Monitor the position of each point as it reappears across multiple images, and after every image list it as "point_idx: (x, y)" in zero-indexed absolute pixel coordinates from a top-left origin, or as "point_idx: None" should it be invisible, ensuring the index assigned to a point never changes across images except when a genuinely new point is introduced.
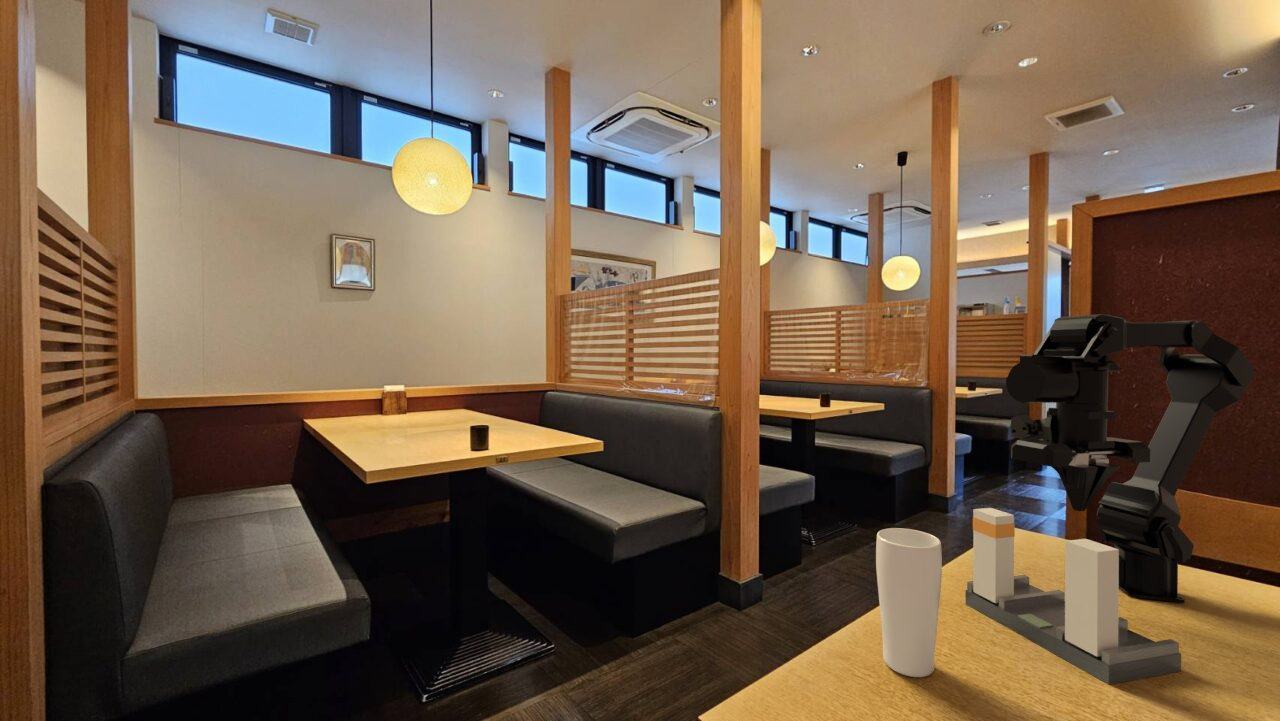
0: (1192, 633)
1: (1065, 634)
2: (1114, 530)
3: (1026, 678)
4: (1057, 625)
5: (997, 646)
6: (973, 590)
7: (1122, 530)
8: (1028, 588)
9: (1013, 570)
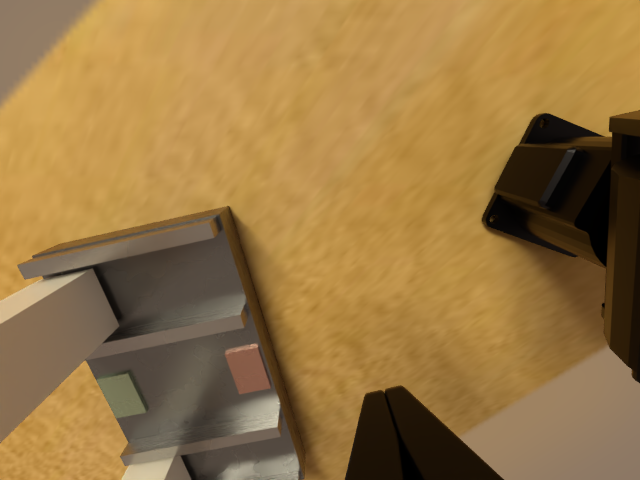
0: (443, 360)
1: (128, 467)
2: (612, 232)
3: (62, 465)
4: (159, 406)
5: (56, 395)
6: (37, 281)
7: (614, 276)
8: (204, 251)
9: (66, 377)
